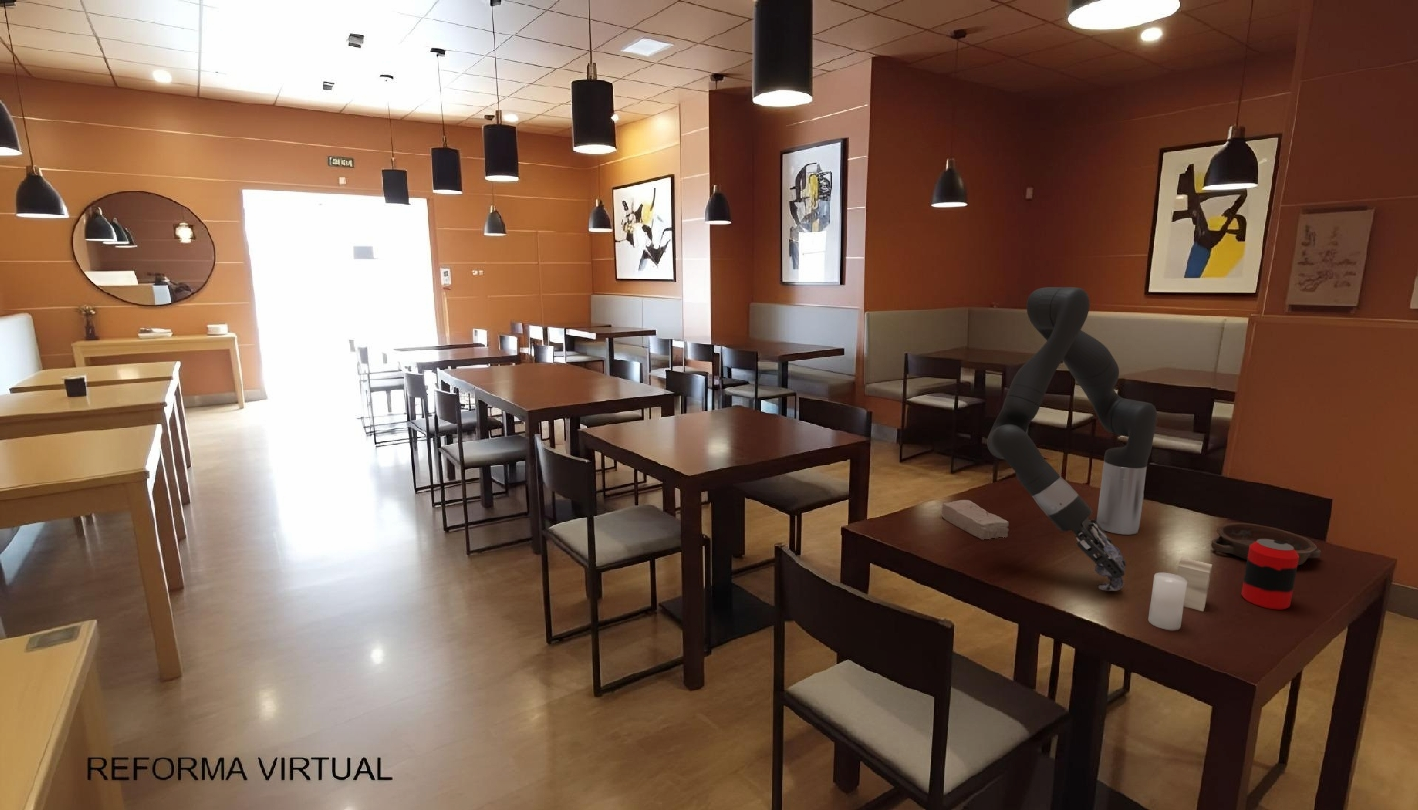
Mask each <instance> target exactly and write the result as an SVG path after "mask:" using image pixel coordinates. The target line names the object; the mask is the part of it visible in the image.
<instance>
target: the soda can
mask: <svg viewBox="0 0 1418 810" xmlns="http://www.w3.org/2000/svg"><path fill="white" fill-rule="evenodd" d="M1298 560H1299V555H1298V554H1297V552H1296V551H1295V549H1294V547H1293V546H1291V545H1289V544H1287V543H1284V542H1281V541H1277V540H1271V539H1258V540H1257V541H1256V542H1254V543H1253V544H1251V545H1250V546H1249V552H1248V558H1247V560H1246V565H1245V571H1244V576H1243V583H1242V590H1241V596H1242V598H1243V599H1244V600H1245V601H1247V602H1248V603H1250V604H1253V605H1255V606H1258V607H1262V608H1265V609H1270V610H1277V611H1278V610H1285V609H1288V608H1290V606H1291V601H1292V597H1293V593H1294V592H1293V591H1294V587H1295V582H1296V581H1295V580H1296V577H1297V576H1296V575H1297V570H1298V566H1299V565H1298Z"/></svg>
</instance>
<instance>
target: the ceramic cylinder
mask: <svg viewBox="0 0 1418 810" xmlns="http://www.w3.org/2000/svg"><path fill="white" fill-rule="evenodd" d="M1152 583H1153V585H1152V590H1151V598H1150V605H1149V611H1148V619H1147V621H1148V622H1149V623H1150V624H1151V625H1153V626H1154V627H1157V628H1159V629H1163V630H1166V631H1178V630H1180V629H1181V625H1182V619H1183V612H1184V607H1185V606H1184V600H1185V593H1186V587H1187V580H1186V579H1184V578H1183V577H1181V576H1178V575H1177V574H1174V573H1172V572H1171V573H1170V572H1156V573H1155V574H1154V577H1153V582H1152Z"/></svg>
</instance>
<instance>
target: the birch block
mask: <svg viewBox="0 0 1418 810" xmlns="http://www.w3.org/2000/svg"><path fill="white" fill-rule="evenodd" d="M1212 567H1213V563H1212V564H1211V563H1208V562H1207V563H1206V562H1202V561H1198V560H1194V559H1190V558H1186V557H1181V558H1180V560H1179V562H1178V565H1177V568H1176V569H1177V570H1176V571H1177V572H1176V575H1178V576H1181V577H1183V578H1184V579H1186V580H1187V587H1186V593H1185V600H1184V607H1185V608H1188V609H1193V610H1196V611H1199V612H1200V611H1201V612H1204V610H1205V607H1206V604H1207V599H1208V593H1209V586H1210V579H1211V575H1212Z"/></svg>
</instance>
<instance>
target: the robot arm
mask: <svg viewBox="0 0 1418 810" xmlns="http://www.w3.org/2000/svg"><path fill="white" fill-rule="evenodd" d="M1089 312H1090V298H1089V295H1088V293H1087V291H1085V290H1084V289H1082V288H1080V287H1074V286H1071V287H1070V286H1060V287H1059V286H1055V287H1053V286H1050V287H1049V286H1048V287H1047V286H1045V287H1041V288H1037V289H1034V291H1032V292H1031V293H1030V295H1029V296H1028V298H1027V302H1026V313H1027V316H1028V320H1029V321H1030V324H1032V326H1033V327H1034V328H1035V330H1036V331H1037V332H1038V333H1039V334H1040V335H1041V336H1042V337H1043V338H1044V339H1045V341H1046V342H1045V343H1044V344H1043V346H1042V347H1041V348H1040V349H1039V350H1038V351H1036V352H1035V354H1033V355H1032V357H1031V358H1030V359H1028V360H1027V361H1026V362H1025V363H1024V364H1023V365H1022V366H1021V367H1020V368H1019V369H1018V371H1017V372H1016V374H1015V375H1014V377H1013V379H1012V381H1011V384H1010V385H1009V388H1008V390H1007V393H1006V395H1005V398H1004V401H1003V405H1002V407H1001V409H1000V412H999V413H998V415H997V417H996V419H995V421H994V423H993V425H992V427H991V430H990V432H989V434H988V436H987V440H986V442H987V443H986V445H987V449H988V452H990V454H991V455H992V456H993V457H996V458H998V459H1000V460H1005V462H1006V463H1007V464H1008V465H1009V467H1011V469H1012V470H1013V471H1014V472H1015V476H1016V478H1017V480H1018V482H1019V483H1020V485H1022V487H1023V488H1024V489H1025V490H1026V492H1028V494H1029V495H1030V496H1031V498H1033V500H1034V501H1035V502H1036V504H1037V505H1038V507H1039V508H1040V509H1041V510H1042V512H1043V513H1044V514H1045V515H1046V517H1048V518H1049V520H1050V521H1051V522H1052V524H1054V525H1055V526H1056V528H1057V529H1058V530H1059V531H1060V532H1062V533H1063V532H1068V531H1072V533H1073V534H1074V535H1075V536H1074V537H1075V539H1076V540H1077V542H1076V546H1077V547H1078V548H1079V549H1080V550H1082V552H1083V553H1084V554H1086V556H1087V557H1089V559H1091V560H1092V561H1093V562H1094V564H1095V565H1096V564H1097V565H1099V564H1102V565H1103V566H1104V567H1105V568H1106V569H1107V571H1108V572H1109V573H1110V574H1111V575H1112V576H1113V577H1114V578H1115V579H1118V578H1119V577H1121V576H1122V577H1123V576H1124V575H1125V570H1124V571H1123V570H1122V568H1121V567H1120V566H1119V565H1118V564H1117V563H1116V562H1115V560H1114V559H1113V558H1112V557H1111V555H1110V554H1109V553H1108V552H1107V550H1106V549H1105V547H1106V546H1107V545H1108V546H1109V545H1111V544H1113V540H1112V539H1111V538H1110V537H1109V536H1108V534H1107V533H1106V532H1108V533H1111V534H1118V535H1128V536H1129V535H1136V534H1138V533H1139V529H1140V525H1141V524H1140V523H1141V516H1142V510H1143V502H1144V490H1145V482H1146V476H1147V467H1148V461H1149V458H1150V455H1151V452H1152V448H1153V444H1154V443H1153V442H1154V438H1155V432H1156V428H1157V423H1158V411H1157V409H1156V406H1155V405H1154V404H1153V403H1151V402H1146V401H1140V400H1135V399H1129V398H1125V397H1124V398H1123V397H1121V396H1120V395H1119V394H1118V393H1117V392H1116V390H1115V389H1114V388H1115V387H1116V385H1117V383H1118V380H1119V376H1120V368H1119V365H1118V363H1117V361H1116V360H1115V358H1114V357H1113V355H1112V353H1111V351H1110V350H1109V349H1108V347H1107V346H1106V345H1105V344H1104V343H1102V342H1101V341H1099V340H1098V339H1096V338H1095V337H1094V336H1092V335H1090V334H1088V333H1086V332H1085V331H1084V330H1082V328H1083V326H1084V324H1085V322H1086V320H1087V319H1088V315H1089ZM1062 362H1063V363H1064V365H1065V366H1066V368H1067V369H1068V371H1069V373H1070V375H1071V376H1072V377H1073V378H1074V380H1075V381H1076V383H1077V384H1078V386H1079V387H1080V388H1081V390H1082V391H1083V393H1084V394H1085V395H1086V397H1087V399H1088V401H1089V402H1090V404H1091V405H1092V408H1093V410H1094V412H1095V415H1096V416H1097V418H1098V421H1099V422H1100V424H1101V426H1102V428H1104V430H1105V431H1106V432H1108V433H1110V434H1113V435H1116V436H1120V437H1125V438H1128V439H1127V442H1126V445H1124V446H1119V447H1111V448H1108V449H1107V450H1105V453H1104V457H1103V464H1102V465H1103V467H1102V475H1101V483H1100V491H1099V500H1098V507H1097V515H1096V519H1095V518H1091V519H1089V517H1091V515H1092V513H1093V509H1092V508H1091V507H1090V506H1089V505H1088V503H1087V502H1085V500H1084V499H1083V498H1082V497H1081V496H1080V495H1079V494H1078V492H1077V491H1076V490H1075V489H1074V488H1073V487H1072V486H1071V484H1070V483H1068V482H1067V481H1066V480H1065V479H1064V478H1063V477H1062V476H1060V474H1059V473H1058V472H1057V471H1056V470H1055V469H1054V467H1053V466H1052V465H1051V464H1050V463H1049V462H1048V461H1047V460H1046V459H1045V458H1044V457H1043V454H1042V452H1041V451H1040V450H1039V448H1038V447H1037V446H1036V444H1035V442H1034V441H1033V440H1032V438H1031V437H1030V436H1029V434H1028V433H1027V431H1028V429H1029V426H1030V423H1031V422H1032V421H1033V420H1034V419H1035V418H1036V415H1038V412H1039V411H1040V407H1041V405H1042V403H1043V400H1044V398H1045V395H1046V394H1047V393H1046V392H1047V390H1048V388H1049V385H1050V384H1051V382H1052V381H1051V380H1052V379H1053V377H1054V375H1055V373H1056V372H1057V369H1058V368H1059V367H1060V365H1061V363H1062ZM1099 554H1100V555H1101V556H1098V555H1099ZM1122 562H1123V564H1124V566H1125V567H1126V565H1127V563H1126V561H1125V560H1124V559H1123V561H1122Z"/></svg>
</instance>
